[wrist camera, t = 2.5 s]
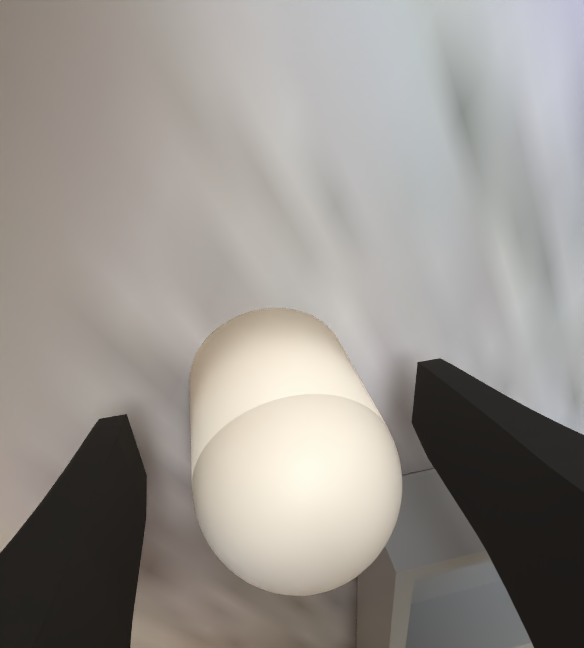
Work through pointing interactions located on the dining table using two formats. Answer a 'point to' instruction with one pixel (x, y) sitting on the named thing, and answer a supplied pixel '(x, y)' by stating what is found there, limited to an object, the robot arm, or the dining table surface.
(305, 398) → the egg
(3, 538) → the dining table surface
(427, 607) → the grey compartment tray
